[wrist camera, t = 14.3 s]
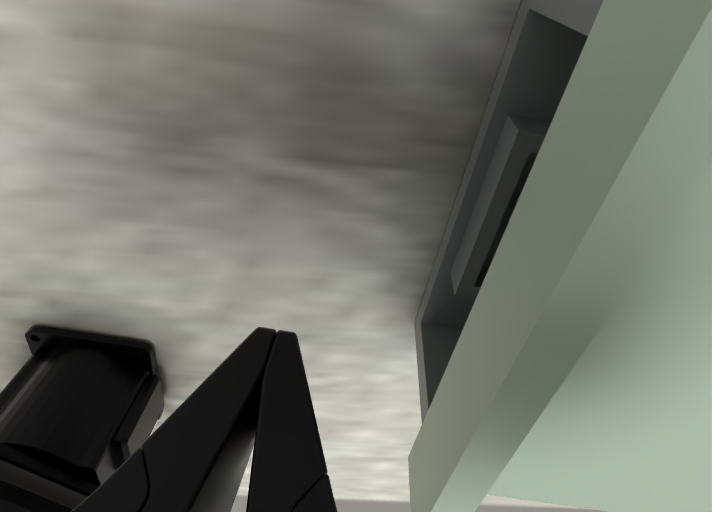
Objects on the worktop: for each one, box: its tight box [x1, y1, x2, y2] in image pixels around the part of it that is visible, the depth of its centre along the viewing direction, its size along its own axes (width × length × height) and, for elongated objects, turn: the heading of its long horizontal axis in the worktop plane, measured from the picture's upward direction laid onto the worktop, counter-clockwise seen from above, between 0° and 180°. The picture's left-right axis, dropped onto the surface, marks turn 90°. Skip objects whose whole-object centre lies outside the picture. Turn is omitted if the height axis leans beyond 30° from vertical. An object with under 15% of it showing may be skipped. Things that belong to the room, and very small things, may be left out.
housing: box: [414, 0, 603, 424], centre depth 15 cm, size 14×15×6 cm
